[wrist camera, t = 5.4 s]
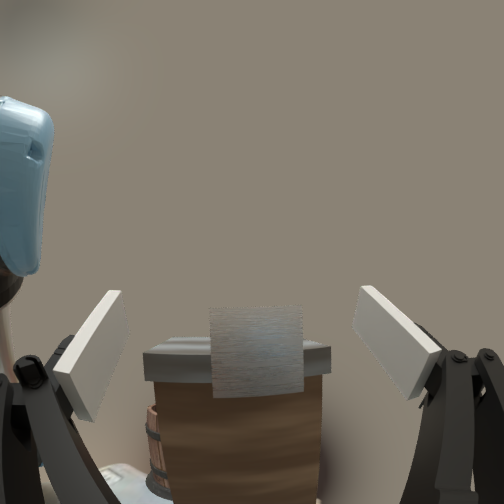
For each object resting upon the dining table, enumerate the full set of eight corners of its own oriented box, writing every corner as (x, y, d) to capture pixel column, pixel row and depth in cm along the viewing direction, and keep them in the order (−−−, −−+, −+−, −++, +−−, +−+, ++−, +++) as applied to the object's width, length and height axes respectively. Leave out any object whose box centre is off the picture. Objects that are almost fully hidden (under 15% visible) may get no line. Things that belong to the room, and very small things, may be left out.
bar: (303, 391, 8) (301, 304, 9) (213, 398, 8) (209, 308, 8) (238, 330, 39) (237, 310, 40) (217, 331, 39) (217, 311, 40)
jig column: (305, 590, 10) (330, 346, 18) (202, 598, 9) (142, 353, 16) (285, 541, 23) (287, 333, 31) (202, 546, 21) (173, 336, 29)
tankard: (139, 467, 45) (126, 397, 49) (203, 459, 54) (196, 393, 58) (165, 525, 25) (143, 442, 30) (249, 506, 34) (245, 427, 38)
